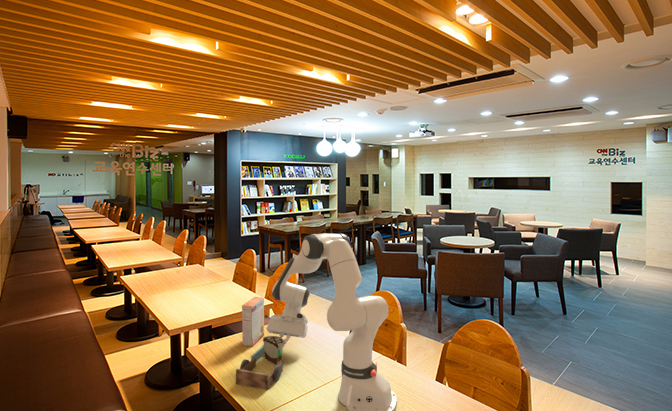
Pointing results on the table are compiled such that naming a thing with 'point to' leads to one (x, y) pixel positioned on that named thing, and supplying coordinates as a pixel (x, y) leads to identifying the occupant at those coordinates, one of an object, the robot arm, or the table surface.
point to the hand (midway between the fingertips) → (282, 343)
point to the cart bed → (256, 375)
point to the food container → (273, 349)
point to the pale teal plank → (258, 353)
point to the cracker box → (253, 321)
